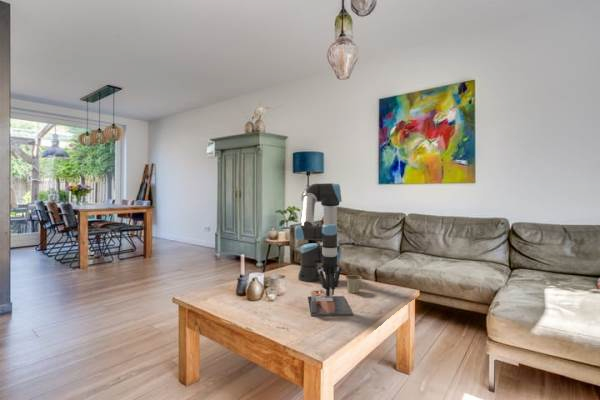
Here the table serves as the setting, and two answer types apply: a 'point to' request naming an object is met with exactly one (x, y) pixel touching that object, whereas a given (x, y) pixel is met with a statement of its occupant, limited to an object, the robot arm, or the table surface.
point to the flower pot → (353, 283)
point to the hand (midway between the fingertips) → (329, 301)
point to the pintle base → (338, 308)
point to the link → (327, 305)
